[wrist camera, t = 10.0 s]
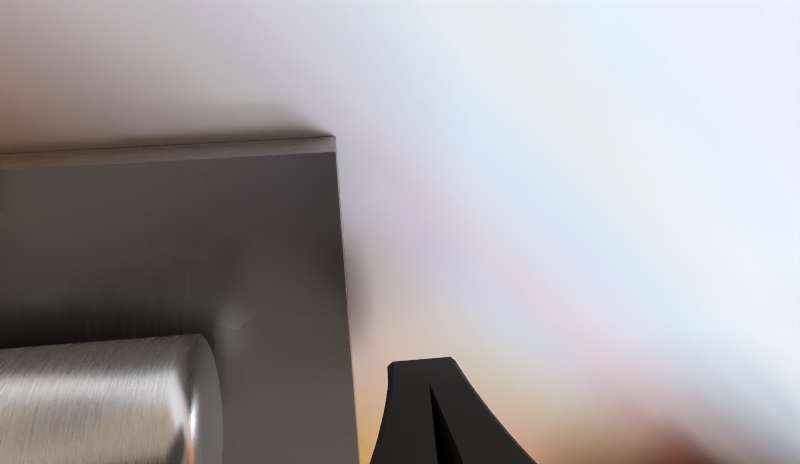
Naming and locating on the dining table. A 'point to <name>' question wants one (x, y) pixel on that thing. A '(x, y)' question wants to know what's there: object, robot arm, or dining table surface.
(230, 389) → the plate
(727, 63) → the dining table surface
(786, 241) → the dining table surface
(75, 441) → the tube
